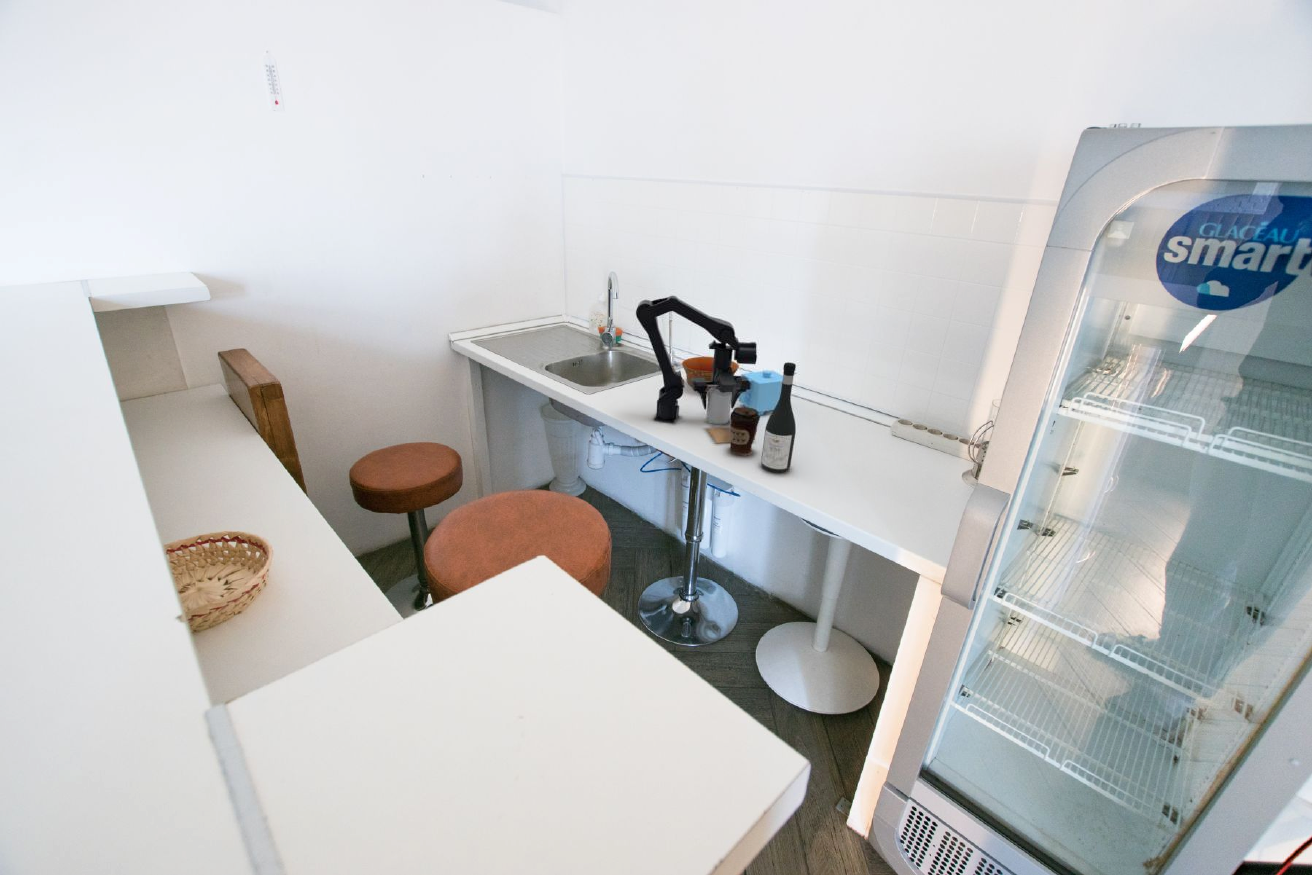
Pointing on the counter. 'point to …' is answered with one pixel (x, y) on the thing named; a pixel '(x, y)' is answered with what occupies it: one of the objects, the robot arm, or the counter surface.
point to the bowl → (702, 368)
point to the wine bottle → (780, 428)
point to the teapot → (762, 390)
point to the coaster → (720, 434)
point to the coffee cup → (743, 429)
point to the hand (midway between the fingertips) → (718, 408)
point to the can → (718, 406)
